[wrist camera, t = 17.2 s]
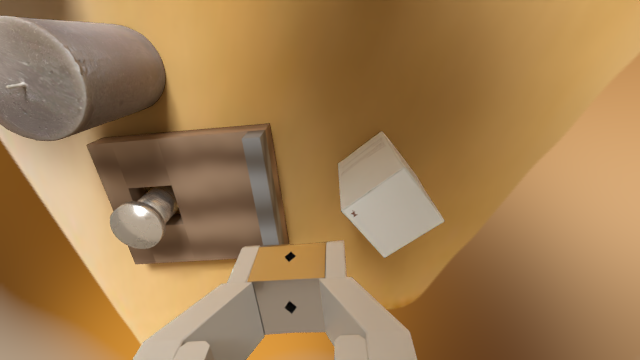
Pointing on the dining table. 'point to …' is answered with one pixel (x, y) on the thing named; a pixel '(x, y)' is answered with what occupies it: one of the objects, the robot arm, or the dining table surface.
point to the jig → (199, 188)
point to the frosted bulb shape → (144, 218)
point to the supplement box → (385, 196)
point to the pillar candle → (73, 75)
